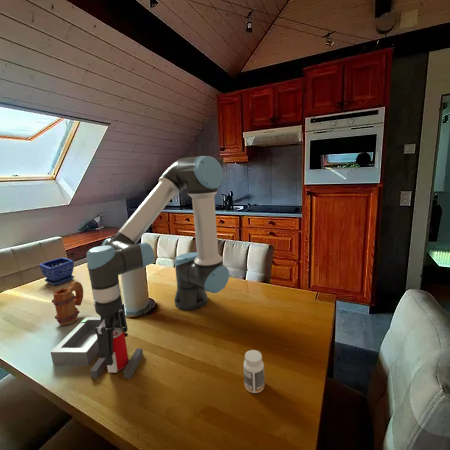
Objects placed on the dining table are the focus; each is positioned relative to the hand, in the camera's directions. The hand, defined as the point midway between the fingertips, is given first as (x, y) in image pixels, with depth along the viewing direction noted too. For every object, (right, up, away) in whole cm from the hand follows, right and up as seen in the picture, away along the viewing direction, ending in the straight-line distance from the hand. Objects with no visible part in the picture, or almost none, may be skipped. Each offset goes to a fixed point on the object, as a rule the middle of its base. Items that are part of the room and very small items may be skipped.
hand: (118, 363), depth 84 cm
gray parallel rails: (0, -1, 0) cm, 1 cm away
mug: (-31, +4, +29) cm, 43 cm away
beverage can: (0, -1, 0) cm, 1 cm away
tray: (-15, +1, +11) cm, 19 cm away
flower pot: (-62, +11, +68) cm, 93 cm away
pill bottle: (+42, -1, -10) cm, 44 cm away
